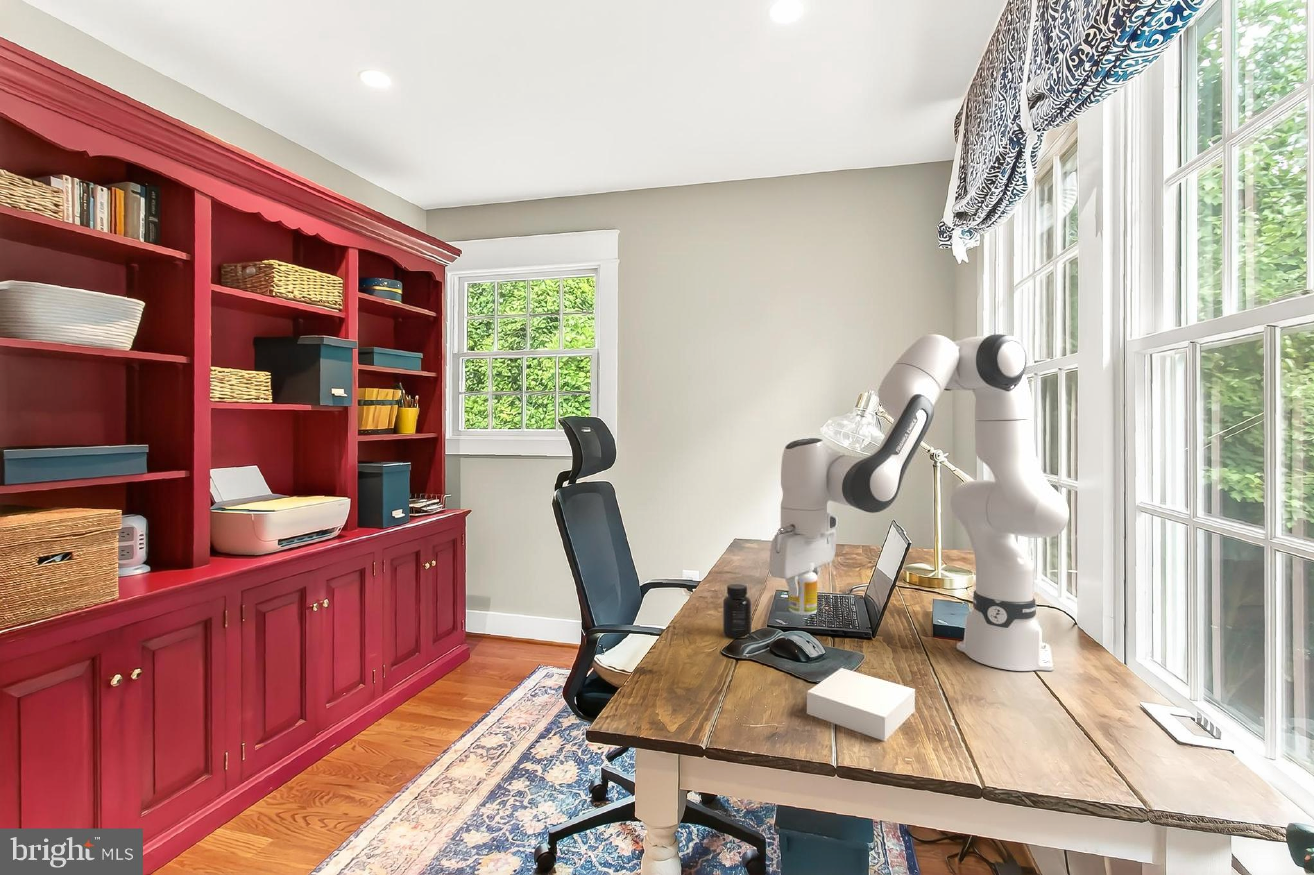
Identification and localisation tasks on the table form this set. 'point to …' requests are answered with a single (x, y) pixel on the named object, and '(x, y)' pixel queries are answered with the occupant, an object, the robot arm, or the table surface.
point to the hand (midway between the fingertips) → (803, 592)
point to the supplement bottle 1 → (736, 612)
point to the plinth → (861, 703)
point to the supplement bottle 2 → (805, 594)
